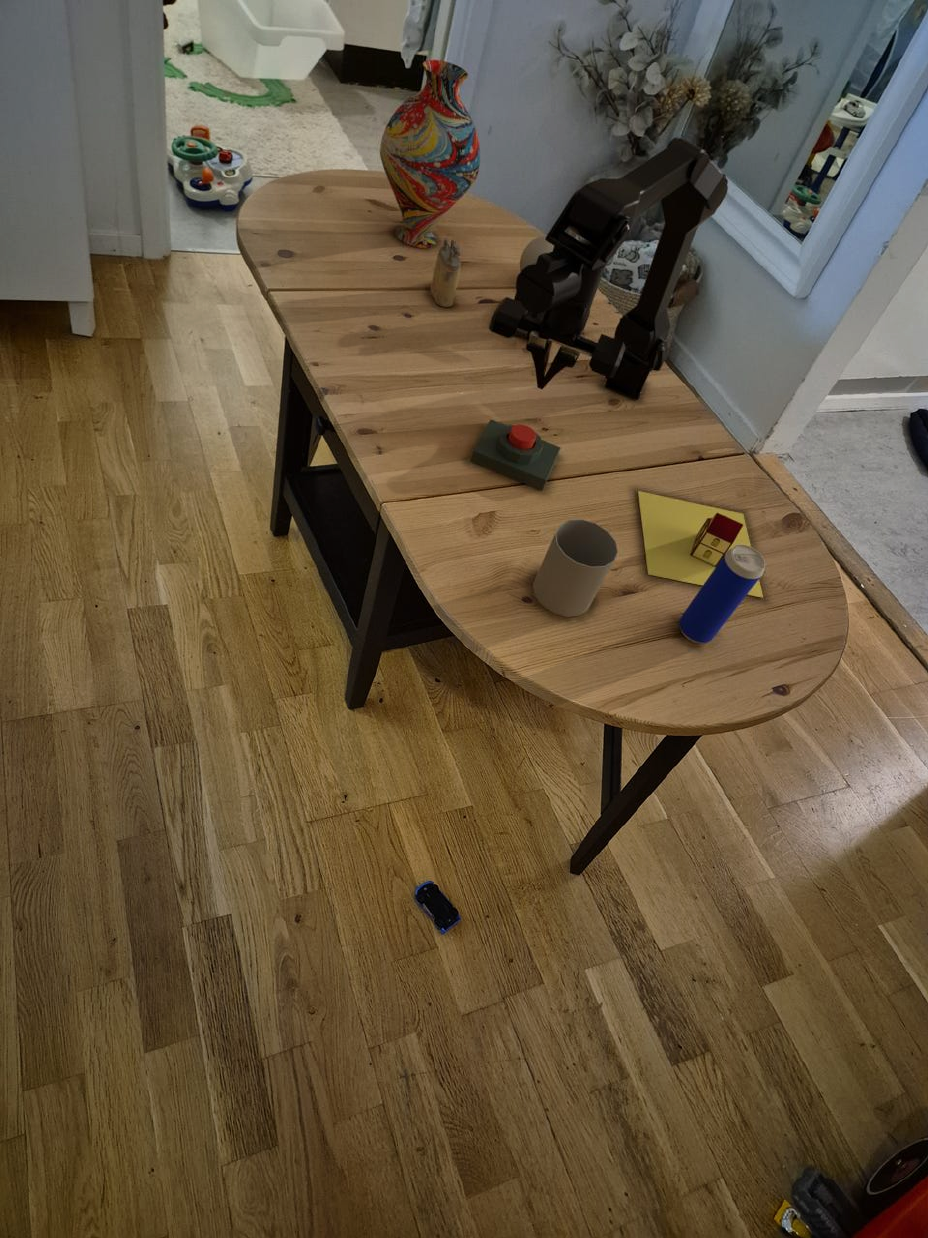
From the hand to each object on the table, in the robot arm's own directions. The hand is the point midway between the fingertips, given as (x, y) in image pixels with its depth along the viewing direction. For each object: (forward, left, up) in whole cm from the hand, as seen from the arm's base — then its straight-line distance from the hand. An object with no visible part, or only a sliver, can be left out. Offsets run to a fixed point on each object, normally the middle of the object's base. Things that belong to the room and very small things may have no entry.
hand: (540, 387), depth 118 cm
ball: (+11, -51, -12) cm, 53 cm away
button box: (0, +3, -12) cm, 12 cm away
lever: (+10, -32, -7) cm, 34 cm away
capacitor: (+26, -34, -12) cm, 44 cm away
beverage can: (-33, +23, -12) cm, 42 cm away
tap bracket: (+10, -36, -12) cm, 39 cm away
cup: (-14, +26, -12) cm, 32 cm away
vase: (+38, -52, -12) cm, 65 cm away
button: (0, +3, -8) cm, 9 cm away
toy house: (-31, +5, -12) cm, 34 cm away
